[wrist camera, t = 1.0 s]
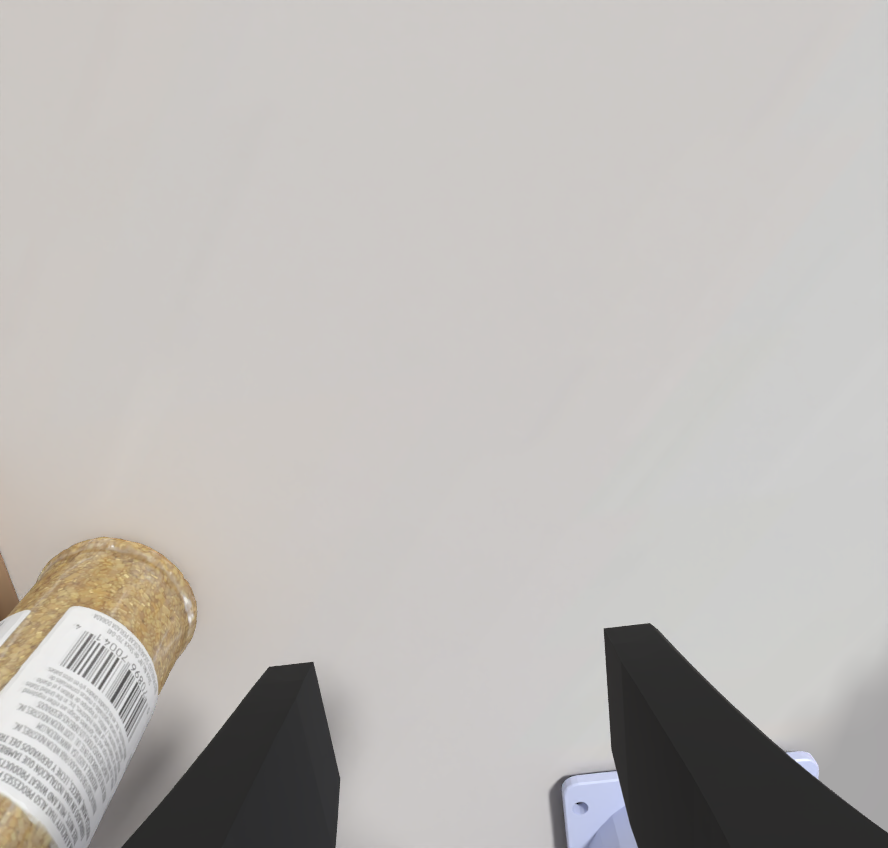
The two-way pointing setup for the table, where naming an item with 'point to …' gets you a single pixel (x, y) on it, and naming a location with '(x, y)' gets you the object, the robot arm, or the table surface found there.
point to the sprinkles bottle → (83, 684)
